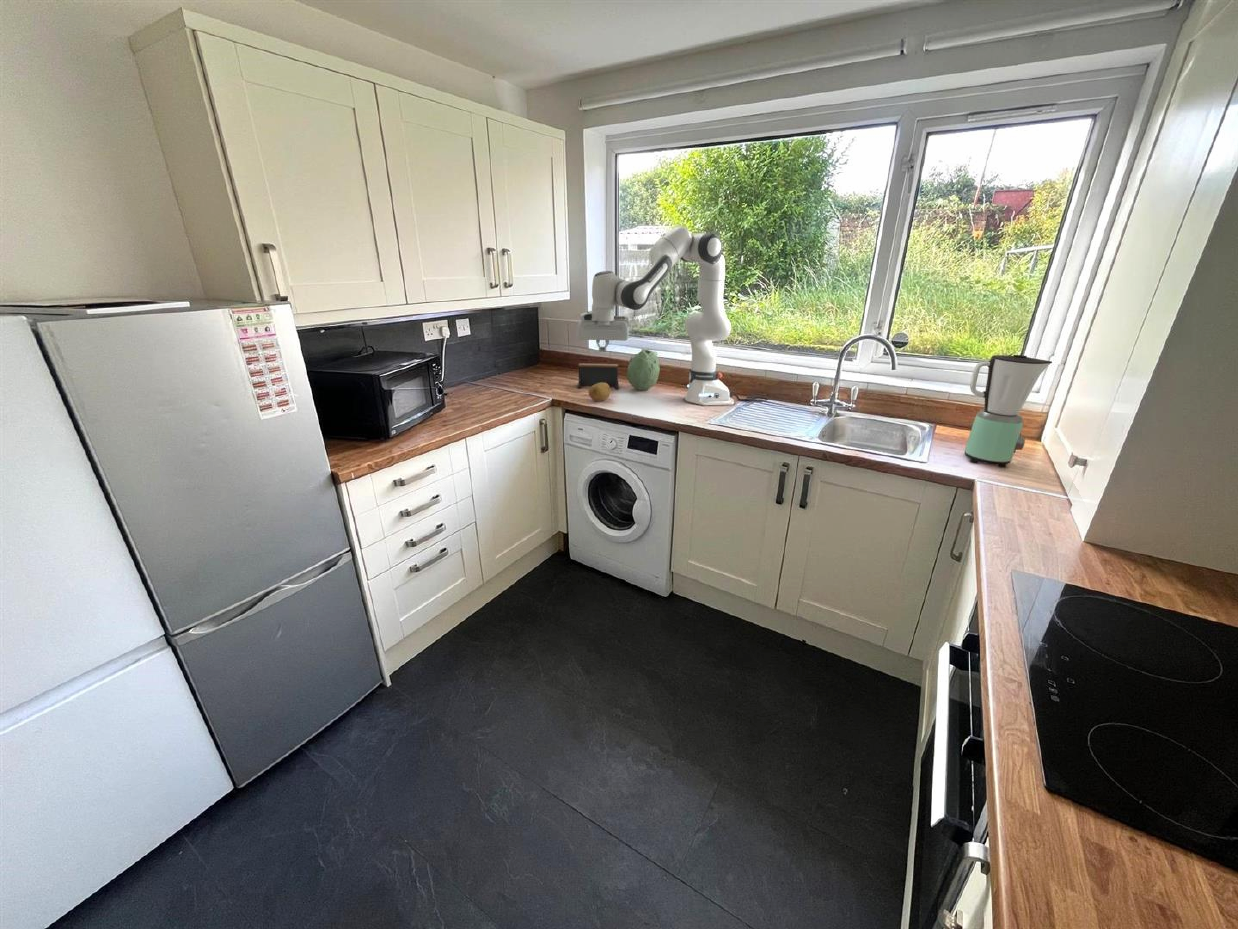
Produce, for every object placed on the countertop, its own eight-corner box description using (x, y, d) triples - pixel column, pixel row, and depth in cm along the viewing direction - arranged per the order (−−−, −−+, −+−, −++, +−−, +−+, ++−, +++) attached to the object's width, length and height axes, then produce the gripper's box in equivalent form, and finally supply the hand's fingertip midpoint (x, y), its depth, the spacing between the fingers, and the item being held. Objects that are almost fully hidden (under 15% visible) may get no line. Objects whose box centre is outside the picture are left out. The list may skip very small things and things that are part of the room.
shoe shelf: (617, 385, 257) (617, 364, 253) (618, 389, 248) (619, 367, 244) (578, 384, 255) (578, 363, 251) (578, 388, 247) (578, 366, 243)
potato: (614, 398, 231) (614, 380, 228) (605, 405, 219) (606, 387, 216) (594, 396, 234) (594, 379, 231) (584, 403, 221) (584, 385, 218)
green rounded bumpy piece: (620, 391, 244) (621, 350, 237) (635, 384, 260) (637, 345, 253) (649, 395, 238) (652, 353, 231) (663, 388, 254) (666, 348, 247)
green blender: (1011, 459, 170) (1046, 355, 157) (1021, 472, 158) (1060, 361, 145) (946, 449, 177) (975, 349, 164) (951, 461, 166) (983, 355, 153)
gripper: (628, 315, 198) (627, 350, 203) (577, 314, 196) (577, 349, 202) (630, 317, 192) (628, 353, 197) (577, 315, 191) (577, 352, 196)
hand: (602, 351), depth 199 cm, fingers closed
